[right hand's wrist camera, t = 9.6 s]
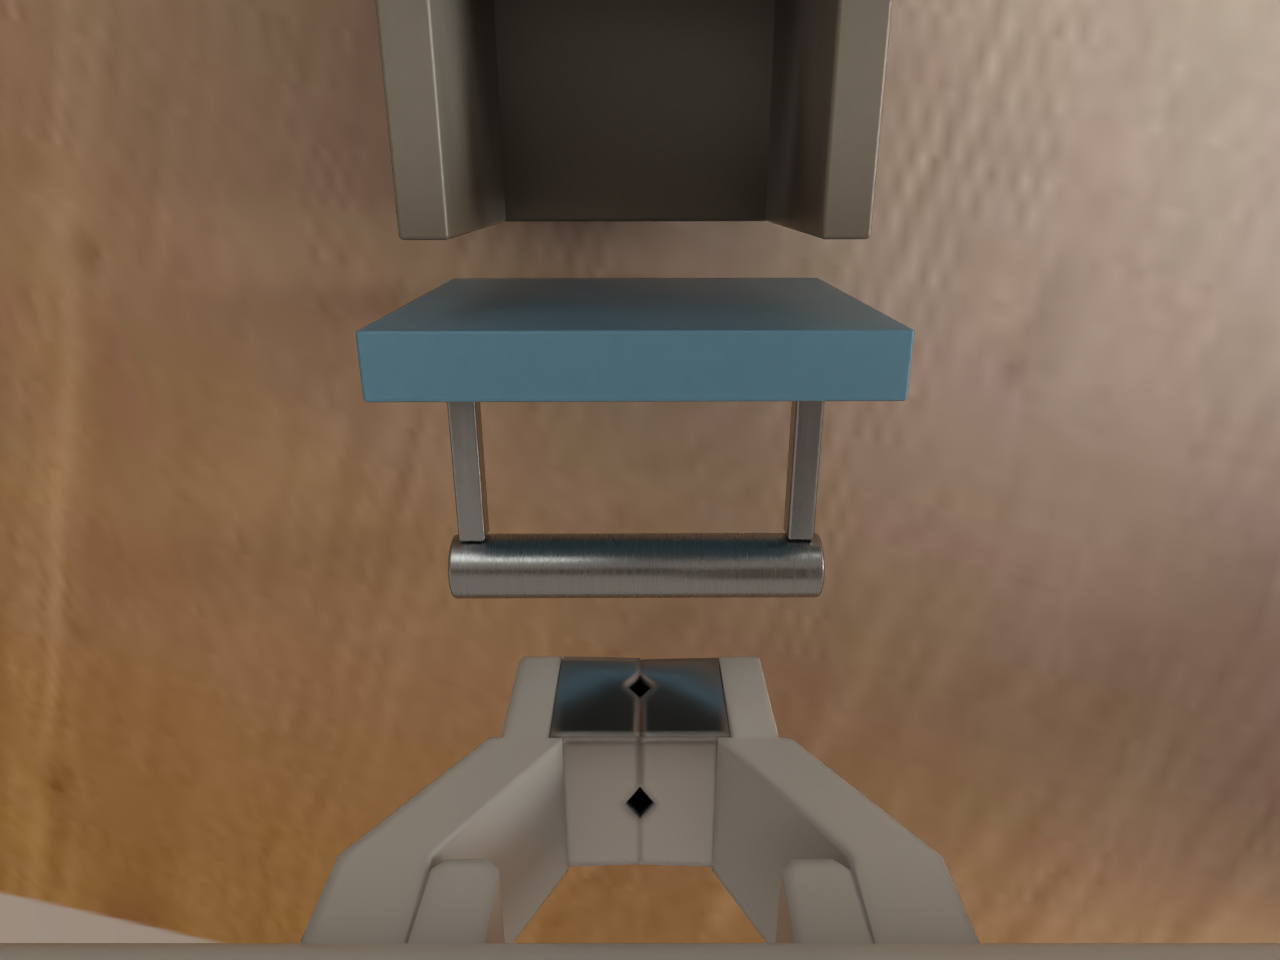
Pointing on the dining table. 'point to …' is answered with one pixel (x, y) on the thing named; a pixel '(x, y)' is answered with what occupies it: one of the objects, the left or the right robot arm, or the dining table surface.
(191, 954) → the right robot arm
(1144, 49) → the dining table surface
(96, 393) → the dining table surface
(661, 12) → the drawer
